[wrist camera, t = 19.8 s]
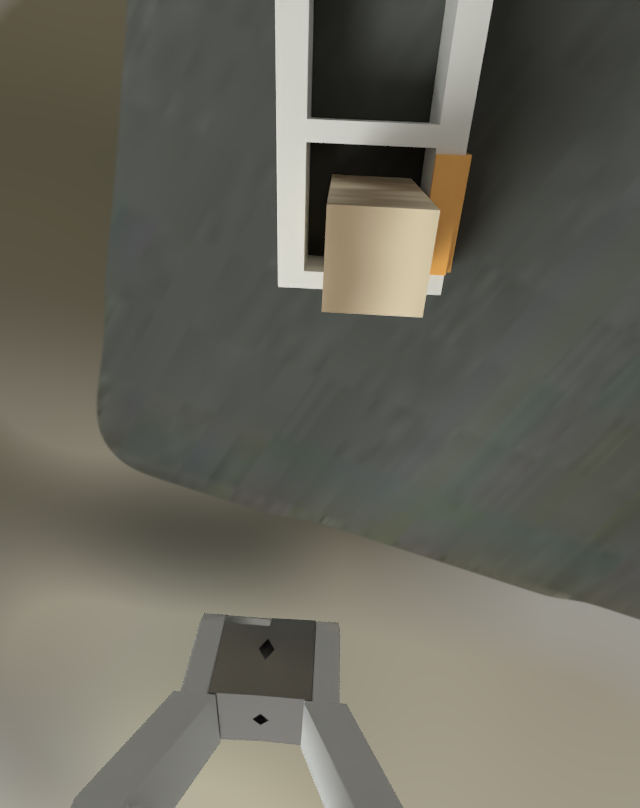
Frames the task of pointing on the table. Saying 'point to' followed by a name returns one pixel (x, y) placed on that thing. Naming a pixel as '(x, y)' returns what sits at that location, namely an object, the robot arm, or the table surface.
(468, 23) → the rack
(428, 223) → the wooden block
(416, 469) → the table surface
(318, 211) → the table surface
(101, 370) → the table surface
